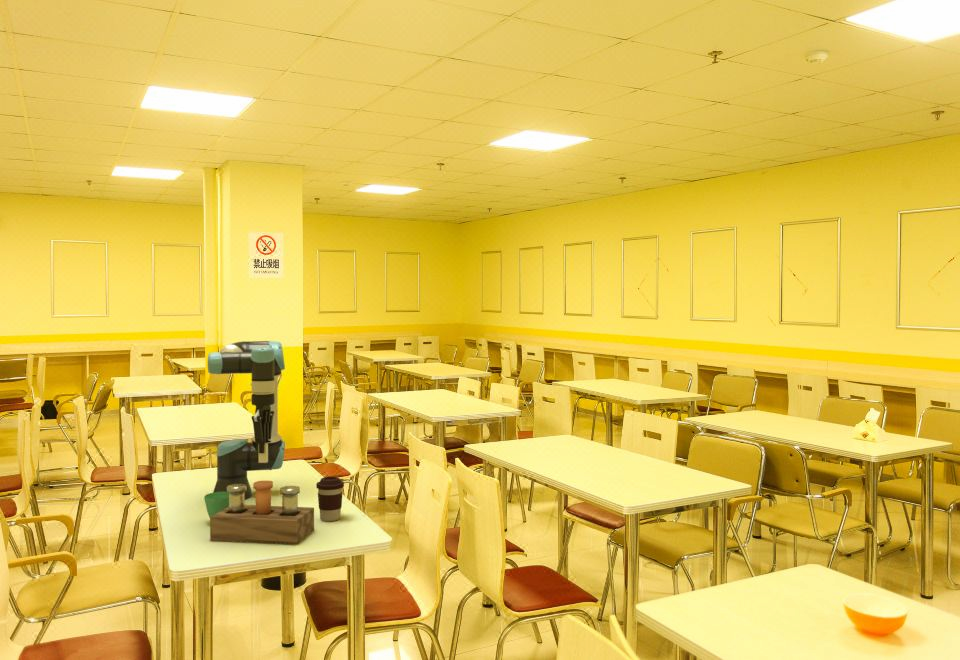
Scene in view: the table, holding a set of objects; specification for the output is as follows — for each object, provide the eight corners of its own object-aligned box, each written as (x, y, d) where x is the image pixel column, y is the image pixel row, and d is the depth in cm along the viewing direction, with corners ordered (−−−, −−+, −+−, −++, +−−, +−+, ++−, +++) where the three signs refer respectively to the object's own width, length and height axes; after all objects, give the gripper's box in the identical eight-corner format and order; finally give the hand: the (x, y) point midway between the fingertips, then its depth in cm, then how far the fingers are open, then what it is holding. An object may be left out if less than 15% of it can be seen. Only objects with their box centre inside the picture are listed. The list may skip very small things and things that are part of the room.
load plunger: (258, 510, 249) (258, 480, 249) (276, 511, 248) (276, 480, 248) (250, 515, 243) (250, 484, 243) (268, 516, 242) (268, 485, 242)
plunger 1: (232, 513, 250) (232, 483, 250) (249, 514, 250) (249, 484, 249) (223, 519, 244) (223, 488, 244) (241, 519, 243) (241, 488, 243)
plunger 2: (284, 516, 248) (284, 485, 248) (302, 516, 247) (302, 486, 247) (277, 521, 242) (277, 490, 241) (295, 522, 241) (295, 490, 240)
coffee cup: (330, 524, 259) (330, 482, 258) (310, 520, 264) (310, 479, 264) (349, 517, 267) (349, 477, 267) (329, 513, 272) (329, 474, 272)
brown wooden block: (232, 526, 256) (232, 504, 255) (314, 530, 252) (314, 507, 252) (210, 540, 240) (210, 517, 240) (296, 545, 236) (296, 520, 236)
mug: (214, 528, 254) (214, 500, 253) (198, 523, 259) (198, 495, 259) (250, 518, 265) (250, 491, 265) (234, 514, 271) (234, 487, 271)
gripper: (260, 390, 251) (261, 458, 252) (243, 395, 238) (244, 466, 239) (281, 391, 250) (281, 458, 251) (265, 395, 237) (265, 466, 238)
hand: (263, 462), depth 245 cm, fingers closed
